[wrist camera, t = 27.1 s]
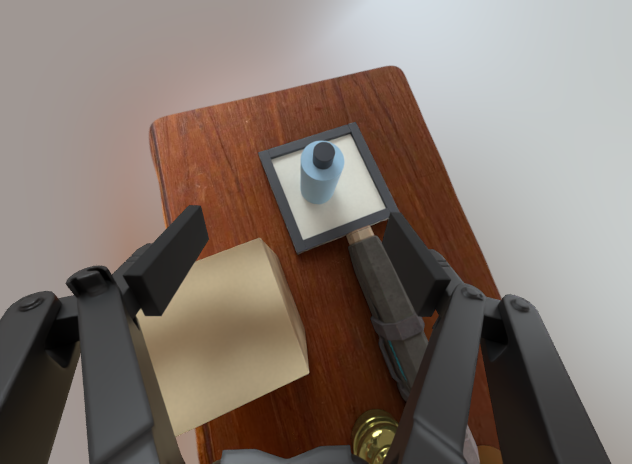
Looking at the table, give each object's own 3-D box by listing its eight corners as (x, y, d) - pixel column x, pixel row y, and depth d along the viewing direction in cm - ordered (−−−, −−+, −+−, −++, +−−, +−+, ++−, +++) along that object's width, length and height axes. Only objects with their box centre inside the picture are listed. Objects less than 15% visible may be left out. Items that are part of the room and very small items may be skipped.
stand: (202, 284, 34) (119, 289, 18) (277, 255, 36) (259, 237, 20) (226, 364, 32) (157, 446, 16) (305, 329, 34) (309, 373, 18)
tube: (371, 232, 40) (463, 420, 32) (337, 247, 41) (417, 435, 32) (374, 213, 30) (511, 485, 21) (328, 234, 31) (443, 505, 22)
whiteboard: (259, 158, 39) (257, 152, 37) (353, 128, 42) (355, 121, 40) (297, 254, 36) (297, 253, 34) (395, 215, 39) (400, 212, 37)
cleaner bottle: (295, 178, 37) (293, 138, 27) (326, 168, 38) (336, 124, 27) (307, 209, 36) (311, 179, 26) (339, 197, 37) (355, 164, 26)
